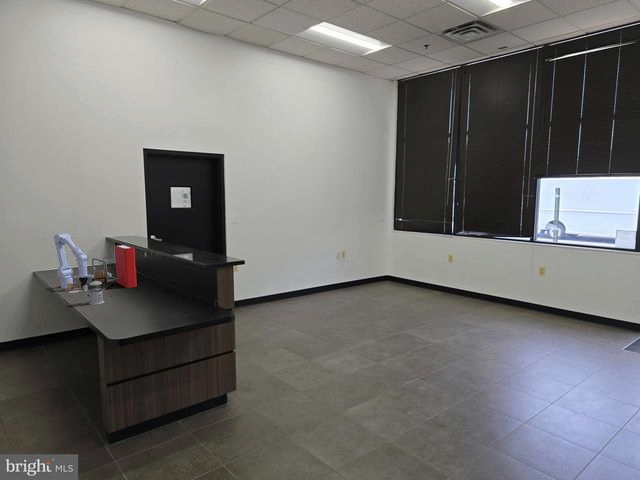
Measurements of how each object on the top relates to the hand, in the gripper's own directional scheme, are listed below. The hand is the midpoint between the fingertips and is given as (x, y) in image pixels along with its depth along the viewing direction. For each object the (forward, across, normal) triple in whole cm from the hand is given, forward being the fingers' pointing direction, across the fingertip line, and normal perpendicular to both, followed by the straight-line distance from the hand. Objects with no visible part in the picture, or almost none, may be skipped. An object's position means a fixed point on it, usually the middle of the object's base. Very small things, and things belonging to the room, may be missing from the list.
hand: (84, 286), depth 329 cm
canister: (+2, -10, 0) cm, 10 cm away
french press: (+3, +24, -39) cm, 46 cm away
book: (+3, +26, +17) cm, 32 cm away
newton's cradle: (+3, +1, +44) cm, 44 cm away
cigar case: (+3, +3, +24) cm, 24 cm away
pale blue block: (+3, -2, -8) cm, 9 cm away
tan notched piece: (+3, -8, 0) cm, 8 cm away
